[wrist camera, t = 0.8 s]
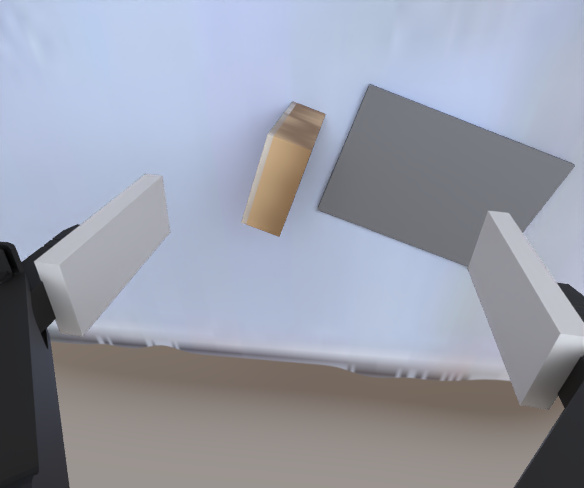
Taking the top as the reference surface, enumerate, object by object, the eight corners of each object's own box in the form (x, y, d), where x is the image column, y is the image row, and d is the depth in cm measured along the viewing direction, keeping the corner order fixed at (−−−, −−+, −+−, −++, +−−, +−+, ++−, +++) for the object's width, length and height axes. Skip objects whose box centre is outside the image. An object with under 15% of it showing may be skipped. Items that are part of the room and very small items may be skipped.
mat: (318, 207, 38) (317, 209, 38) (369, 83, 32) (369, 85, 31) (487, 271, 39) (489, 274, 38) (572, 163, 33) (575, 165, 32)
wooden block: (269, 173, 37) (241, 222, 29) (292, 101, 34) (267, 133, 25) (299, 184, 38) (279, 236, 29) (325, 114, 34) (311, 150, 25)
